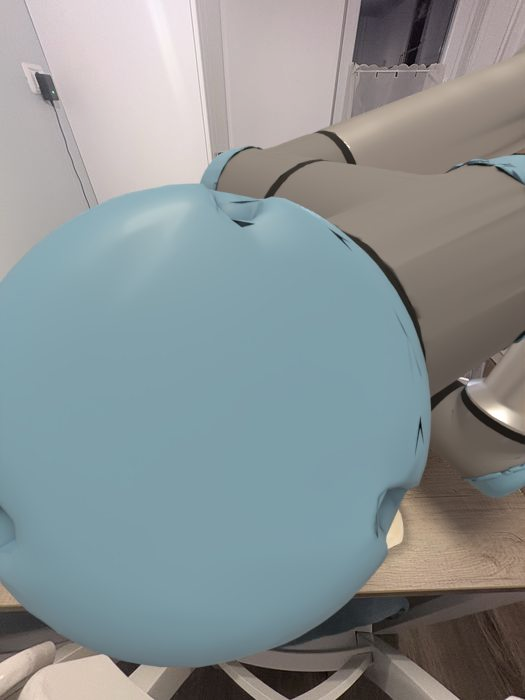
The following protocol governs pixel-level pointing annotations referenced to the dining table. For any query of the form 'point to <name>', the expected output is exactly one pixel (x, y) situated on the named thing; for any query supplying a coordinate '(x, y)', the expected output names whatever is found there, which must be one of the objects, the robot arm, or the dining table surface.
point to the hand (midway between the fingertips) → (189, 394)
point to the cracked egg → (395, 531)
